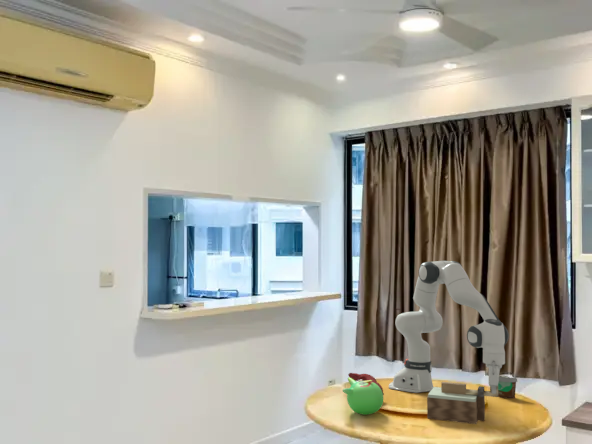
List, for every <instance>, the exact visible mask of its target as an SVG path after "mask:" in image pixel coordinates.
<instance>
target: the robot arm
mask: <svg viewBox="0 0 592 444" xmlns="http://www.w3.org/2000/svg"><path fill="white" fill-rule="evenodd" d="M463 267H464V266H463V265H462V264H461V263H460V262H458V261H455V260H451V261H450V260H438V261H437V260H435V261H425V262H422V263H421V264H420V266H419V268H418V276H417V280H416V283H415V284H416V285H415V289H414V293H413V297H412V299H413V302H414V304H415V305H416V306H418V307H419V309H418V311H405V312H402V313H400V314H398V315H397V316H396V318H395V324H394V325H395V328H396V329H397V331H398V333H400V334H401V335H403V337H404V339H405V341H406V344H407V353H408V354H407V355H408V356H407V357H408V358H406V359H405V360H404V363H403V365H404V367H402V368H401V369H400V370H399V371H397V372H395V374H394V376H393V380H392V381H391V382H390V383H389V384H388V389H390V390H396V391H402V392H409V393H416V394H418V393H424V392H425V393H426V392H430V391H431V390H432V389H433V387H434V383H433V378H432V371H433V370H432V369H433V368H432V366H433V365H432V360H431V345H430V344H429V343H428V342H427V341H426V340H424V339H423V337H422V334H423V333H424V334H425V333H427V334H429V333H434V332H438V331H440V330H441V329H442V327H443V324H444V323H443V322H444V319H443V317H442V315H441V314H440V312H438V311H437V307H436V303H437V296H438V292H439V289H440V288H439V287H440V285H443V284H445V287H446V290H447V292H448V295H449V297H450V298H451V299H452V300H453V302H454V303H456V304H459V305H461V306H466V307H469V308H471V309H474V310H475V311H477V312H478V313H479V315H480V316H481V317H482V320H483V322H481V323H479V324H474V325H471V326H469V328H468V330H467V332H466V338H467V339H466V340H467V342H468V343H469V345H470V346H471V347H473V348H477V349H479V348H482V363H483V364H485V367H486V368H488V386H489V387H490V386H491V389H492V394H496V386H498V381H499V376H500V371H501V369H502V367H503V365H505V364H506V351H505V346H506V344H507V343H508V341H509V338H510V333H509V330H508V329H507V326H505V325H504V323H503V322H501V320H500V319H499V317H498V316H497V314H496V313H495V311H494V309H493V308H492V306H491V304H490V303H489V301H488V299H487V298H486V297H485V295H483V294H482V293H480V292H479V291H478V289H476V288H475V286H474V285H473V284H472V282H471V280H470V277H469V276H468V273H467V272H466V271H465V269H464V268H463Z"/></svg>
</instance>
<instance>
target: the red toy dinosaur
mask: <svg viewBox="0 0 592 444" xmlns="http://www.w3.org/2000/svg"><path fill="white" fill-rule="evenodd" d="M348 377H350V378H352V379H353V380H355V381H357V382H359V381H367V380H372V381H371V382H374V383H375V384H377V385H378V386H379V387H380V389H381V390H382V393H383V396H384V395H385V394H384V389H383V387H382V385H381V384H380V383H379V382H377V379H376V378H375V377H374V376H373V375H371V374H367V373H356V372H349V373H348Z"/></svg>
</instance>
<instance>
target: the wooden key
mask: <svg viewBox="0 0 592 444" xmlns="http://www.w3.org/2000/svg"><path fill="white" fill-rule="evenodd" d="M465 394H471V395H478V389H471V388H470V389H468V388H466V390H465ZM483 396H485V397H493V398H499V397H498V386H496V394H492V389H491V386H489V390H484V391H483Z"/></svg>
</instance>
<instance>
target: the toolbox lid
mask: <svg viewBox="0 0 592 444" xmlns="http://www.w3.org/2000/svg"><path fill="white" fill-rule="evenodd" d="M466 389H467V383H463V382H462V383H461V382H451V381H449V382H448V381H442V382H441V386H440V387H439V386H433V389H432V390H431V391H428V394H427V397H430V398H440V399H449V400H459V401H469V402H476V400H477V398H478V395H471V394H465V390H466Z"/></svg>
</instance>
